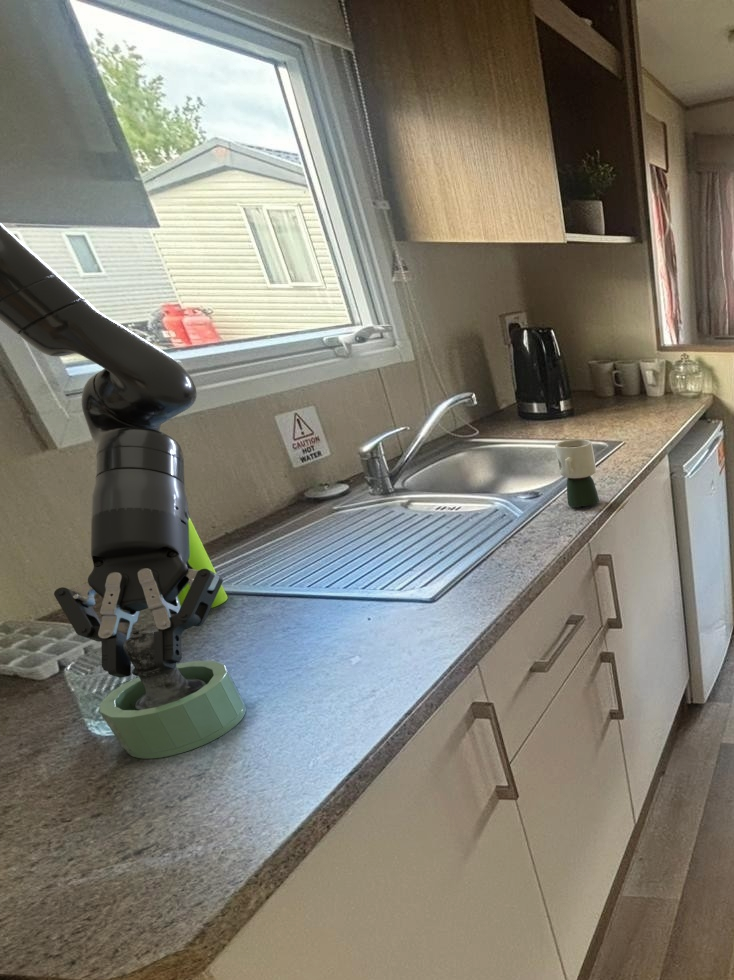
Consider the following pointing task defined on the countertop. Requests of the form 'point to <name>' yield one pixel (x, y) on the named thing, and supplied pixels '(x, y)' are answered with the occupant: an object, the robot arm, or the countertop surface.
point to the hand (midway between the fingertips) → (142, 670)
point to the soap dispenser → (200, 565)
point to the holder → (175, 713)
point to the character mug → (578, 471)
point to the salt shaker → (156, 674)
